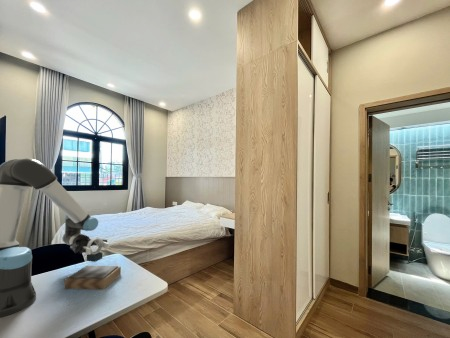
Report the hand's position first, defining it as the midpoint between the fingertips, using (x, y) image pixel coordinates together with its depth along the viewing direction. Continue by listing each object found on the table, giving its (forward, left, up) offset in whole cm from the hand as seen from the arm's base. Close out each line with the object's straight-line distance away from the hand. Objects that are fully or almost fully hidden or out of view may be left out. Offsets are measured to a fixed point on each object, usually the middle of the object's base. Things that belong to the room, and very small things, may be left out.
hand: (99, 248), depth 100 cm
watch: (-4, +2, -7) cm, 8 cm away
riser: (-4, +2, -18) cm, 19 cm away
